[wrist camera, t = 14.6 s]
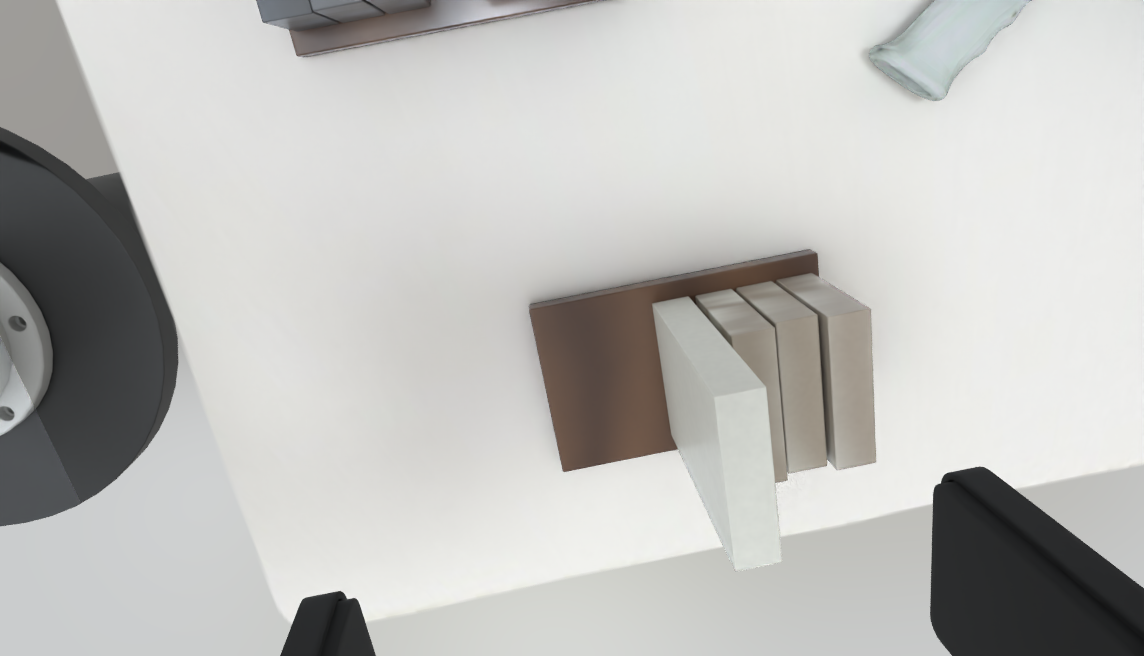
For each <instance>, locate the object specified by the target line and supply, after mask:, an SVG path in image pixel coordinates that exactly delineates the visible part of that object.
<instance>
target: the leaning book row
mask: <svg viewBox="0 0 1144 656" xmlns="http://www.w3.org/2000/svg"><path fill="white" fill-rule="evenodd" d="M687 296H689V298H690V299H691V300H692V301H693V302H694V303H695V305H696V306H697V307H698V308H699V309H700V310H701V312H702V313H703V314H704V315H705V316H706V317H707V319H708V320H709V321H710V322H711V323H712V324H713V326H714V327H715V328H716V329H717V330H718V331H719V333H720V334H721V335H722V336H723V337H724V338H725V340H726V341H727V342H728V343H729V344H730V345H731V347H732V348H733V349H734V350H735V351H736V352H737V354H738V355H739V356H740V357H741V358H742V359H743V361H744V362H745V363H746V364H747V365H748V366H749V368H750V369H751V370H752V371H753V372H754V373H755V375H756V376H757V377H758V378H759V379H760V380H761V382H762V383H763V384H764V385H765V386H766V391H767V401H768V412H769V423H770V434H771V444H772V455H773V466H774V477H775V483H777V482H782V481H787V480H788V478H787V472H788V473H795V472H799V471H804V470H809V469H814V468H819V467H824V466H827V460H828V461H829V462H830V463H831V464H832V465H833V467H834V468H835V469H836V470H841V469H846V468H851V467H856V466H861V465H866V464H871V463H875V462H876V445H875V417H874V389H873V361H872V333H871V309H870V308H869V307H867V306H865V305H864V304H862V303H860V302H859V301H857V300H855V299H854V298H852V297H851V296H849V295H847V294H846V293H844V292H842V291H841V290H839V289H837V288H836V287H834V286H832V285H831V284H829V283H828V282H826V281H824V280H823V279H821V278H819V271H818V255H817V253H816V252H814V251H812V250H805V251H800V252H795V253H790V254H784V255H779V256H774V257H769V258H764V259H759V260H754V261H749V262H744V263H739V264H733V265H728V266H723V267H718V268H713V269H708V270H703V271H698V272H693V273H688V274H683V275H677V276H672V277H667V278H662V279H657V280H652V281H647V282H642V283H637V284H632V285H626V286H621V287H616V288H611V289H606V290H601V291H596V292H591V293H586V294H581V295H576V296H570V297H565V298H560V299H555V300H550V301H545V302H540V303H535V304H530V305H529V312H530V317H531V322H532V326H533V331H534V336H535V341H536V345H537V350H538V355H539V360H540V365H541V369H542V374H543V379H544V384H545V388H546V393H547V398H548V403H549V407H550V412H551V417H552V422H553V426H554V431H555V436H556V441H557V445H558V450H559V455H560V460H561V464H562V469H563V471H564V472H567V471H572V470H577V469H582V468H586V467H591V466H596V465H601V464H606V463H611V462H616V461H621V460H626V459H631V458H636V457H641V456H646V455H651V454H656V453H661V452H666V451H671V450H676V449H678V448H677V446H676V444H675V441H674V439H673V437H672V435H671V429H670V422H669V416H668V409H667V402H666V395H665V388H664V382H663V375H662V368H661V361H660V354H659V348H658V341H657V334H656V327H655V320H654V314H653V307H652V303H657V302H662V301H667V300H672V299H677V298H682V297H687Z"/></svg>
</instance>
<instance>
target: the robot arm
mask: <svg viewBox="0 0 1144 656" xmlns="http://www.w3.org/2000/svg"><path fill="white" fill-rule="evenodd" d="M52 366H53V349H52V344H51V339H50V334H49V330H48V327H47V325H46V322H45V320H44V317H43V315H42V313H41V310H40V309H39V307H38V305H37V304H36V302H35V301H34V299H33V298H32V296H31V294H30V293H29V291H28V290H27V289H26V288H25V286H24V285H23V284H22V283H21V282H20V281H19V280H18V279H17V277H16V276H15V275H14V274H13V273H12V272H11V271H10V270H9V269H8V268H6V267H5V266H4V265H3V264H2V263H0V436H1V435H3V434H5V433H7V432H8V431H10V430H11V429H13V428H14V427H15V426H17V425H18V424H20V423H21V422H22V421H24V420H25V419H26V418H27V417H28V416H29V415H30V414H31V413H32V412H33V411H34V410H35V409H36V408H37V407H38V405H39V404H40V402H41V400H42V398H43V396H44V395H45V393H46V391H47V389H48V385H49V382H50V378H51V374H52ZM931 569H932V570H931V607H930V616H931V622H932V626H933V629H934V631H935V633H936V635H937V637H938V638H939V640H940V641H941V642H942V644H943V645H944V646H945V648H946V649H947V650H948V651H949V652H950V654H951V655H952V656H1144V588H1143V587H1141V586H1140V585H1139V584H1137V583H1136V582H1135V581H1133V580H1132V579H1131V578H1129V577H1128V576H1127V575H1126V574H1124V573H1123V572H1122V571H1120V570H1119V569H1118V568H1116V567H1115V566H1114V565H1113V564H1111V563H1110V562H1109V561H1107V560H1106V559H1105V558H1103V557H1102V556H1101V555H1099V554H1098V553H1097V552H1096V551H1094V550H1093V549H1092V548H1090V547H1089V546H1088V545H1086V544H1085V543H1084V542H1083V541H1081V540H1080V539H1079V538H1077V537H1076V536H1075V535H1073V534H1072V533H1071V532H1070V531H1068V530H1067V529H1066V528H1064V527H1063V526H1062V525H1060V524H1059V523H1057V522H1056V521H1055V520H1054V519H1053V518H1051V517H1050V516H1049V515H1047V514H1046V513H1045V512H1043V511H1042V510H1041V509H1040V508H1038V507H1037V506H1035V505H1034V504H1033V503H1032V502H1030V501H1029V500H1028V499H1026V498H1025V497H1024V496H1023V495H1021V494H1020V493H1019V492H1017V491H1016V490H1015V489H1013V488H1012V487H1011V486H1010V485H1008V484H1007V483H1006V482H1004V481H1003V480H1002V479H1000V478H999V477H998V476H996V475H995V474H994V473H993V472H991V471H990V470H988V469H986V468H985V467H975V468H970V469H965V470H960V471H955V472H950V473H947V474H945V475H944V476H943V478H942V481H941V484H938V485H936V486H935V488H934V492H933V527H932V566H931ZM280 656H376V655H375V652H374V649H373V645H372V642H371V639H370V636H369V633H368V630H367V627H366V623H365V620H364V617H363V614H362V611H361V607H360V605H359V602H358V600H357V599H355V598H352V599H347V598H346V596H345V594H344V593H343V592H341V591H338V592H333V593H327V594H322V595H317V596H312V597H307V598H304V599H303V600H302V602H301V603H300V606H299V608H298V611H297V613H296V616H295V619H294V621H293V624H292V626H291V629H290V632H289V634H288V637H287V640H286V642H285V645H284V647H283V650H282V653H281V655H280Z"/></svg>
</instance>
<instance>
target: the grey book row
mask: <svg viewBox="0 0 1144 656" xmlns="http://www.w3.org/2000/svg"><path fill="white" fill-rule="evenodd" d="M256 1H257V4H258V8H259V11H260V14H261V18H262V21H263V23H267V24H271V25H274V26H278V27H282V28H285V29H289V31H290V35H291V38H292V41H293V45H294V48H295V52H296V55H297V56H300V57H307V56H312V55H318V54H323V53H328V52H334V51H339V50H344V49H350V48H355V47H360V46H365V45H371V44H376V43H381V42H387V41H392V40H397V39H403V38H408V37H413V36H419V35H424V34H429V33H435V32H440V31H445V30H451V29H456V28H461V27H467V26H472V25H477V24H483V23H488V22H493V21H499V20H504V19H509V18H514V17H520V16H525V15H530V14H536V13H541V12H546V11H552V10H557V9H562V8H568V7H573V6H578V5H584V4H589V3H594V2H600V1H605V0H256Z"/></svg>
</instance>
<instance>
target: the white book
mask: <svg viewBox="0 0 1144 656" xmlns="http://www.w3.org/2000/svg"><path fill="white" fill-rule="evenodd" d="M652 307H653V314H654V320H655V327H656V334H657V341H658V348H659V354H660V361H661V368H662V375H663V382H664V388H665V395H666V402H667V409H668V416H669V422H670V429H671V435H672V437H673V439H674V441H675V444H676V446H677V448H678V450H679V452H680V454H681V456H682V459H683V461H684V463H685V465H686V467H687V469H688V472H689V474H690V476H691V478H692V480H693V482H694V484H695V487H696V489H697V491H698V493H699V495H700V497H701V500H702V502H703V504H704V506H705V508H706V510H707V512H708V515H709V517H710V519H711V521H712V523H713V525H714V527H715V530H716V532H717V534H718V536H719V538H720V540H721V543H722V545H723V547H724V549H725V551H726V553H727V555H728V558H729V559H730V561H731V564H732V566H733V568H734V570H735V572H737V571H742V570H747V569H751V568H757V567H761V566H766V565H771V564H776V563H781V562H782V552H781V542H780V530H779V520H778V509H777V498H776V487H775V477H774V466H773V455H772V444H771V434H770V423H769V412H768V401H767V391H766V386H765V385H764V384H763V383H762V382H761V380H760V379H759V378H758V377H757V376H756V375H755V373H754V372H753V371H752V370H751V369H750V368H749V366H748V365H747V364H746V363H745V362H744V361H743V359H742V358H741V357H740V356H739V355H738V354H737V352H736V351H735V350H734V349H733V348H732V347H731V345H730V344H729V343H728V342H727V341H726V340H725V338H724V337H723V336H722V335H721V334H720V333H719V331H718V330H717V329H716V328H715V327H714V326H713V324H712V323H711V322H710V321H709V320H708V319H707V317H706V316H705V315H704V314H703V313H702V312H701V310H700V309H699V308H698V307H697V306H696V305H695V303H694V302H693V301H692V300H691V299H690V298H689V296H687V297H682V298H677V299H672V300H667V301H662V302H657V303H652Z"/></svg>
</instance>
